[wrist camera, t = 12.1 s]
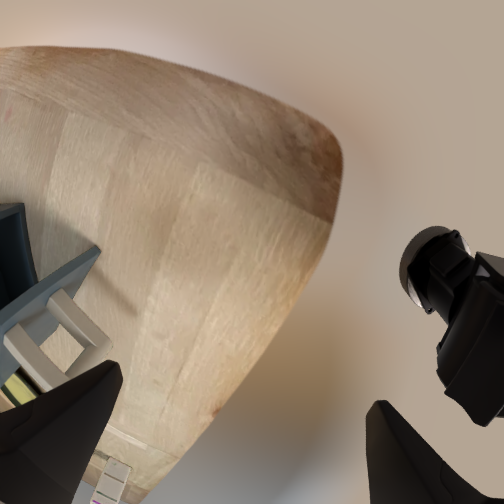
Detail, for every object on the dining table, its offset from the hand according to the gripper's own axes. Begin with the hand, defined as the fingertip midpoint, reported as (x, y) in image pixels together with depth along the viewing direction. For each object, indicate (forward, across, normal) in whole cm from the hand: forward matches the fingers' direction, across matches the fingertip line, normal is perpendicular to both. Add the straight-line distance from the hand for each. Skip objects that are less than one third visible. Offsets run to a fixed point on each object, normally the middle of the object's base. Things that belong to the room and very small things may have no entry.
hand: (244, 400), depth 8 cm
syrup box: (+13, +26, +56) cm, 63 cm away
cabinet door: (+13, +17, +10) cm, 23 cm away
